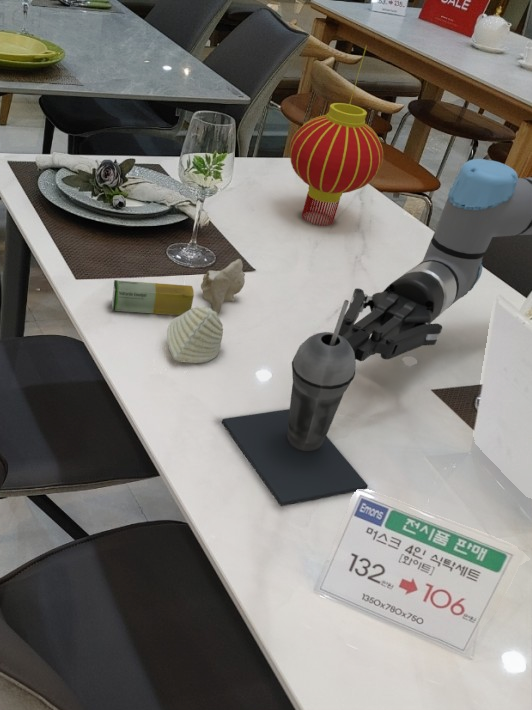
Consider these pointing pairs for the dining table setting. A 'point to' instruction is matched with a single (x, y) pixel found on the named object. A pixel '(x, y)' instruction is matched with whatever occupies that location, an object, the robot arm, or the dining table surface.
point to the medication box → (151, 297)
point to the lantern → (335, 156)
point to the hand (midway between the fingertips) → (337, 360)
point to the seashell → (195, 335)
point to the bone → (223, 284)
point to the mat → (291, 460)
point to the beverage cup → (319, 385)
